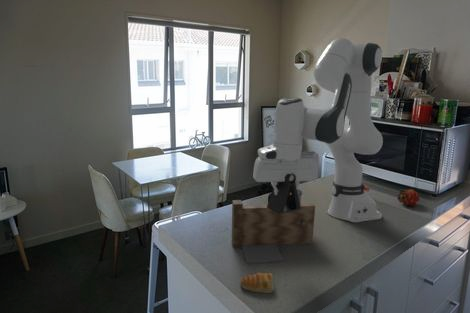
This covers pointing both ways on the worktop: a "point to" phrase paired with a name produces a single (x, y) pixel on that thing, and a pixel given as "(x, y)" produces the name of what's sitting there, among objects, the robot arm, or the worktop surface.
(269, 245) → the door mat
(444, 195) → the worktop surface
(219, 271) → the worktop surface
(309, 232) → the door panel
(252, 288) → the pastry
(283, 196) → the phone stand
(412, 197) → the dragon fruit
